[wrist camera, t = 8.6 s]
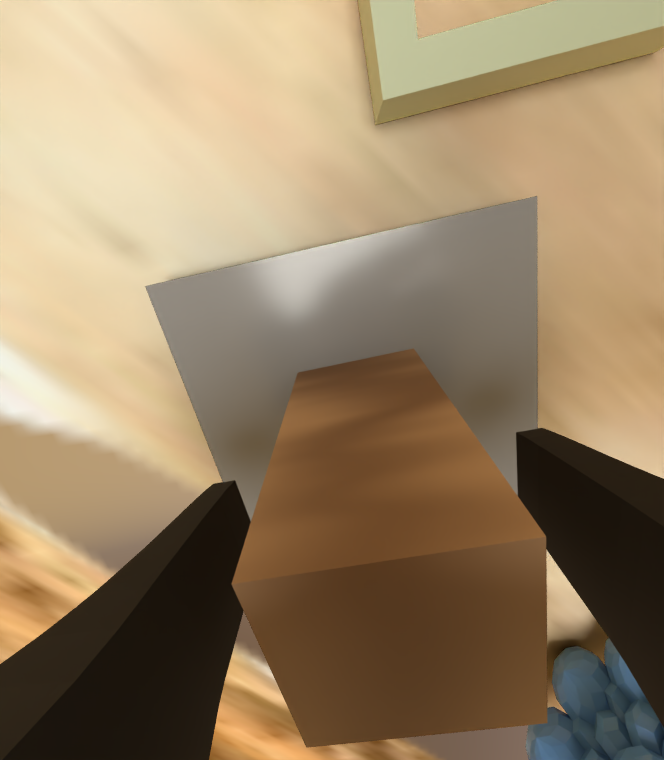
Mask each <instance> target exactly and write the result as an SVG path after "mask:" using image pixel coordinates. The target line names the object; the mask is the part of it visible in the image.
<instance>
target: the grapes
mask: <svg viewBox="0 0 664 760" xmlns="http://www.w3.org/2000/svg"><path fill="white" fill-rule="evenodd" d="M604 660H605V665H606V666H605V665H604V664H603V662H602V661H601V660H600V659H599V658H598V656H596V655H595V654H594V653H592V652H590V651H588V650H586V649H584V648H581V647H579V646H575V647H569V648H566V649H564V650H563V651H562V652H561V653H560V654H559V655H558V657H557V658H556V659H555V660H554V666H553V673H552V684H553V688H554V691H555V695H556V699H557V700H558V702H559V703H560V705H561V706H562V707H563V709H564V710H565V711H566V713H567V714H566V713H564V712H562V711H560V710H559V709H557V708H555V707H549V708H547V723H544V724H535V725H528V731H527V739H526V751H527V755H528V759H529V760H664V727H663V725H662V724H661V722H660V720H659V719H658V717H657V715H656V714H655V712H654V710H653V709H652V707H651V705H650V704H649V702H648V700H647V699H646V697H645V695H644V693H643V692H642V690H641V688H640V687H639V685H638V683H637V682H636V680H635V678H634V677H633V675H632V673H631V672H630V670H629V668H628V667H627V665H626V663H625V662H624V660H623V659H622V657H621V656H620V654H619V652H618V651H617V649H616V648H615V646H614V645H613V643H612V642H611V640H610V639H609V637H608V639H607V640H606V642H605V650H604Z"/></svg>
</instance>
